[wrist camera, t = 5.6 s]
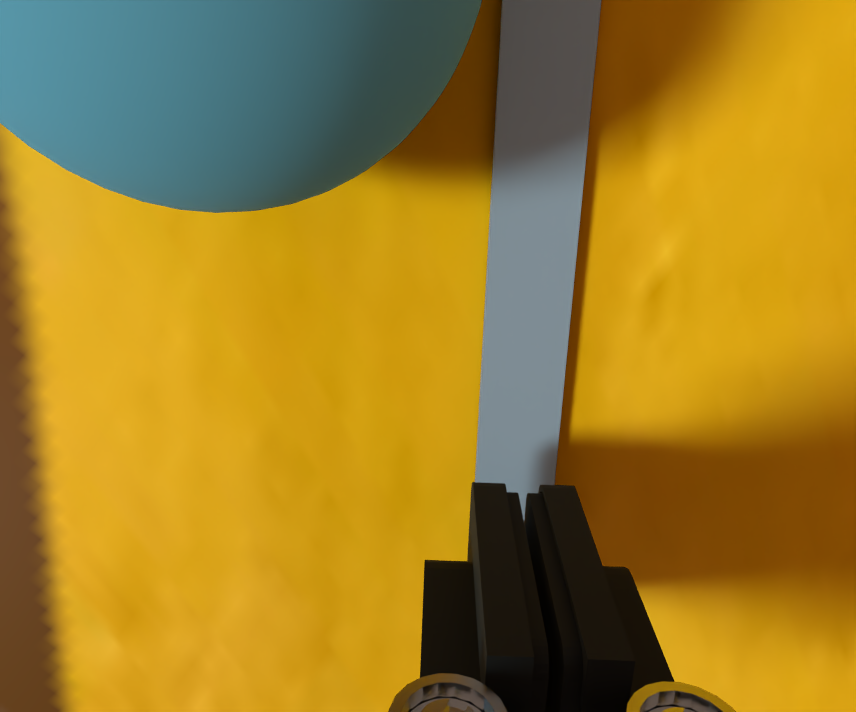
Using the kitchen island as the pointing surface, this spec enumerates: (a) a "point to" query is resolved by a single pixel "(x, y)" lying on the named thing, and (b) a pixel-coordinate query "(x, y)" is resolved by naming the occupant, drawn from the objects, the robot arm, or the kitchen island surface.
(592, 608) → the robot arm
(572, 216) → the strip
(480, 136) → the kitchen island surface
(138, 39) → the ball
